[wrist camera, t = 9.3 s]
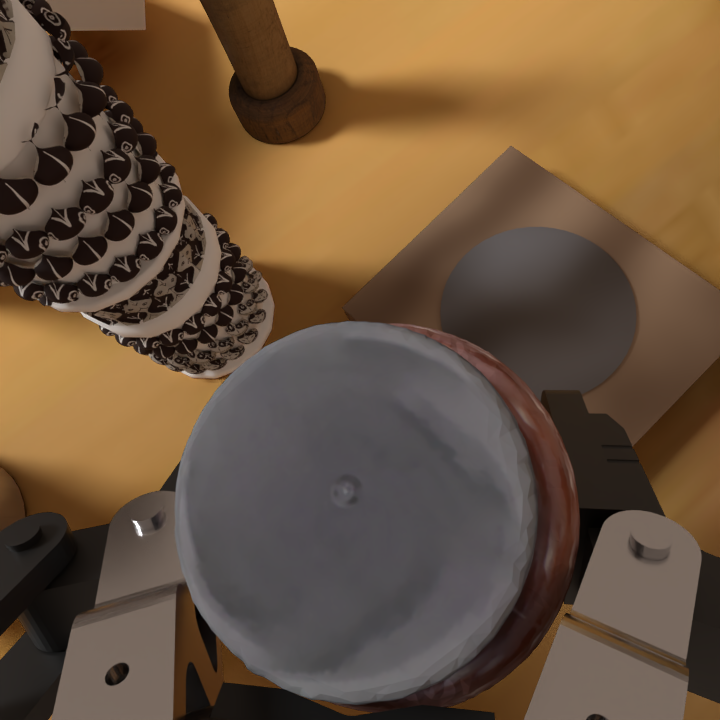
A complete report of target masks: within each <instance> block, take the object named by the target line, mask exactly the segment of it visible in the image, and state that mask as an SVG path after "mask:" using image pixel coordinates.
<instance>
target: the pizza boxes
mask: <svg viewBox="0 0 720 720" xmlns="http://www.w3.org/2000/svg"><path fill="white" fill-rule="evenodd" d="M46 1H47V2H48V3H49V5H50V6H51V8H52V11H53V12H56V13H59V14H60V15H62V16H63V17H64V18H65V19H66V21H67V22H68V24H69V25H70V28H71V31H97V30H146V20H145V0H46ZM43 30H44V29H43ZM44 31H46V30H44Z"/></svg>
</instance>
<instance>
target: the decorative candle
mask: <svg viewBox="0 0 720 720" xmlns="http://www.w3.org/2000/svg"><path fill="white" fill-rule="evenodd" d="M43 29H44V30H46V31H47V32H48V33H49V34H50V35H51V34H52V35H51V36H49V35H48V34H47V33H46V32H45V31H44V30H43ZM70 35H71V28H70V25H69V24H68V22H67V21H66V19H65V18H64V17H63V16H62V15H60V14H59V13H56V12H53V11H52V8H51V6H50V5H49V3H48V2H47V1H46V0H0V286H13V288H14V291H15V292H16V294H17V295H18V296H20V297H21V298H23V299H25V300H28V301H34V300H39V301H40V303H41V304H42V305H44V306H45V305H48V306H51V307H53V308H54V309H56V310H58V311H60V312H81V314H82V315H83V317H85V318H87V319H89V320H90V321H92V322H94V323H96V324H98V325H99V327H100V329H101V331H102V332H103V333H104V334H105V335H108V336H113V335H115V338H116V340H117V342H118V343H119V344H121V345H123V346H126V347H130V346H133V347H134V349H135V351H136V352H138V353H139V354H142V355H149V356H150V358H151V359H152V360H153V361H154V362H156V363H158V364H161V365H165V366H166V367H168V368H169V369H171V370H173V371H177V372H182V373H184V374H186V375H188V376H190V377H192V378H213V379H216V378H219V377H222V376H224V375H227V374H230V373H232V372H233V371H234V370H236V369H237V368H238V367H239V366H240V365H242V364H243V363H244V362H245V361H246V360H247V359H249V358H250V357H252V356H254V355H255V354H256V353H258V352H259V351H260V350H261V349H262V347H263V345H264V343H265V341H266V340H267V338H268V336H269V334H270V332H271V330H272V324H273V316H274V308H275V305H274V301H273V298H272V295H271V291H270V288H269V285H268V283H267V282H266V281H265V280H264V279H263V277H262V273H261V272H260V271H256V270H255V269H254V268H253V262H252V261H251V260H249V258H248V257H246V256H243V257H241V258H240V255H241V249H240V247H239V246H238V245H237V244H233V243H229V242H230V238H229V234H228V233H227V232H226V231H225V230H223V229H222V228H217V221H216V219H215V218H214V217H213V216H212V215H211V214H209V213H205V214H202V213H201V212H200V211H199V210H198V209H197V207H196V206H195V205H194V204H193V203H192V202H191V201H190V200H189V199H188V197H186V196H184V195H183V194H182V190H181V186H180V182H179V178H178V176H177V175H176V173H175V168H174V167H173V166H172V165H170V164H168V163H166V162H165V161H164V160H163V159H162V158H161V157H160V156H159V155H158V153H157V151H156V147H157V144H156V140H155V138H154V137H153V136H152V135H150V134H148V133H143V127H142V124H141V123H140V122H139V121H138V120H137V119H136V118H134V117H133V114H134V113H133V110H132V109H131V107H130V106H129V105H128V104H127V103H125V102H123V101H121V100H118V97H117V95H116V93H115V91H114V90H113V89H112V88H111V87H109V86H105V85H102V86H99V84H100V83H101V81H102V78H103V67H102V66H101V64H100V63H99V62H98V61H97V60H95V59H93V58H90V57H88V53H87V51H86V49H85V48H84V47H83V45H82V44H80V43H79V42H77V41H73V40H69V38H70ZM62 63H63V65H64V67H63V66H62ZM73 64H75V65H76V66H77V69H78V71H79V74H80V76H81V78H82V80H83V81H82V80H77V81H76V80H75V79H74V78H73V77H72V76H71V75H70V73H69V71H70V69H71V68H72V66H73ZM104 108H106V109H108V110H110V111H104V112H103V110H104ZM239 258H240V259H239Z"/></svg>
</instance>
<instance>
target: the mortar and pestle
mask: <svg viewBox="0 0 720 720" xmlns="http://www.w3.org/2000/svg"><path fill="white" fill-rule="evenodd" d="M200 2H201V4H202V5H203V7H204V9H205V11H206V13H207V15H208V17H209V19H210V21H211V23H212V25H213V27H214V29H215V31H216V33H217V35H218V37H219V40H220V42H221V44H222V46H223V48H224V50H225V52H226V54H227V56H228V58H229V60H230V62H231V64H232V66H233V68H234V70H235V73H234V74H233V76H232V79H231V82H230V86H229V98H230V102H231V104H232V107H233V109H234V111H235V112H236V114H237V116H238V118H239V120H240V122H241V124H242V126H243V127H244V129H245V130H246V131H247V132H248V133H249V134H250V135H251V136H252V137H254V138H255V139H257V140H259V141H262V142H266V143H274V144H277V143H286V142H290V141H293V140H296V139H298V138H300V137H302V136H303V135H305V134H307V133H308V132H309V131H310V130H311V129H312V128H313V127H315V125H316V124H317V123H318V122H319V120H320V119H321V117H322V115H323V112H324V108H325V93H324V89H323V86H322V83H321V80H320V77H319V74H318V70H317V68H316V65H315V63H314V62H313V60H312V59H311V58H310V57H309V56H308V55H307V54H306V53H305V52H303V51H301V50H299V49H297V48H293V47H289V44H288V41H287V38H286V35H285V33H284V30H283V27H282V24H281V21H280V19H279V16H278V13H277V10H276V7H275V4H274V2H273V0H200Z"/></svg>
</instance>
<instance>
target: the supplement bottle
mask: <svg viewBox="0 0 720 720" xmlns="http://www.w3.org/2000/svg"><path fill="white" fill-rule="evenodd" d="M579 528H580V513H579V502H578V492H577V487H576V482H575V476H574V471H573V467H572V464H571V462H570V459H569V456H568V453H567V451H566V448H565V446H564V443H563V440H562V437H561V436H560V434H559V432H558V430H557V428H556V426H555V424H554V422H553V420H552V418H551V416H550V414H549V413H548V412H547V410H546V409H545V408H544V406H543V405H542V403H541V402H540V401H539V399H538V398H537V397H536V395H535V394H534V393H533V392H532V390H531V389H530V388H529V386H528V385H527V384H526V383H525V382H524V381H523V380H522V379H521V378H520V377H519V376H518V375H517V374H515V373H514V372H513V371H512V370H511V369H510V368H508V367H507V366H506V365H505V364H504V363H502V362H501V361H500V360H498V359H497V358H495V357H494V356H493V355H492V354H491V353H489V352H488V351H485V350H484V349H482V348H481V347H479V346H477V345H475V344H473V343H471V342H468V341H467V340H464V339H462V338H460V337H457V336H455V335H452V334H449V333H445V332H442V331H440V330H437V329H431V328H426V327H421V326H416V325H411V324H395V323H391V324H387V323H379V322H367V321H345V322H338V323H327V324H321V325H315V326H312V327H309V328H306V329H303V330H299V331H296V332H294V333H292V334H290V335H288V336H286V337H284V338H282V339H279V340H277V341H275V342H273V343H271V344H269V345H267V346H265V347H264V348H263V349H261V350H260V351H259V352H258V353H256V354H255V355H254V356H252V357H250V358H249V359H247V360H246V361H245V362H244V363H243V364H242V365H240V366H239V367H238V368H237V369H236V370H234V371H233V372H232V374H231V375H230V376H229V377H228V378H227V379H226V380H225V381H224V382H223V384H222V385H221V386H220V387H219V388H218V389H217V390H216V391H215V393H214V394H213V396H212V398H211V399H210V400H209V402H208V403H207V404H206V406H205V407H204V409H203V410H202V412H201V414H200V416H199V418H198V420H197V422H196V424H195V426H194V428H193V431H192V433H191V435H190V437H189V439H188V441H187V444H186V447H185V449H184V452H183V455H182V458H181V462H180V467H179V471H178V476H177V481H176V492H175V531H174V532H175V540H176V545H177V552H178V556H179V560H180V565H181V570H182V573H183V575H184V577H185V580H186V582H187V585H188V588H189V591H190V594H191V598H192V601H193V603H194V604H195V605H196V607H197V609H198V610H199V612H200V614H201V616H202V617H203V618H204V620H205V621H206V622H207V624H208V625H209V627H210V629H211V630H212V631H213V632H214V633H215V634H216V636H217V637H218V638H219V639H220V640H221V641H222V642H223V643H224V644H225V645H226V647H227V648H228V649H229V650H230V651H231V652H232V653H233V654H234V655H235V656H237V657H238V658H239V659H240V660H242V661H243V662H244V664H245V666H246V668H247V669H248V670H250V671H251V672H252V673H254V674H256V675H259V676H262V677H265V678H266V679H268V680H270V681H271V682H273V683H274V684H276V685H277V686H279V687H281V688H282V689H285V690H287V691H290V692H293V693H295V694H298V695H300V696H303V697H306V698H308V699H311V700H322V701H327V702H331V703H333V704H335V705H339V706H343V707H347V708H351V709H355V710H360V711H367V712H372V713H376V712H382V711H388V710H394V709H400V708H406V707H412V706H418V705H429V706H438V707H449V706H454V705H456V704H459V703H462V702H465V701H466V700H468V699H470V698H474V697H475V696H476V695H478V694H479V693H481V692H483V691H485V690H488V689H489V688H491V687H492V686H494V685H495V684H496V683H498V682H499V681H501V680H502V679H503V678H505V677H506V676H507V675H508V674H510V673H511V672H512V671H513V670H514V669H515V668H516V667H518V666H519V665H520V664H521V663H522V662H523V661H524V660H525V659H526V658H528V657H529V656H530V654H531V653H532V651H533V650H534V649H535V648H536V647H537V646H538V645H539V643H540V642H541V640H542V639H543V637H544V636H545V634H546V633H547V631H548V630H549V628H550V627H551V625H552V623H553V621H554V620H555V618H556V616H557V614H558V613H559V611H560V608H561V606H562V604H563V601H564V599H565V596H566V594H567V591H568V589H569V586H570V584H571V580H572V577H573V572H574V567H575V562H576V557H577V552H578V547H579Z"/></svg>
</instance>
